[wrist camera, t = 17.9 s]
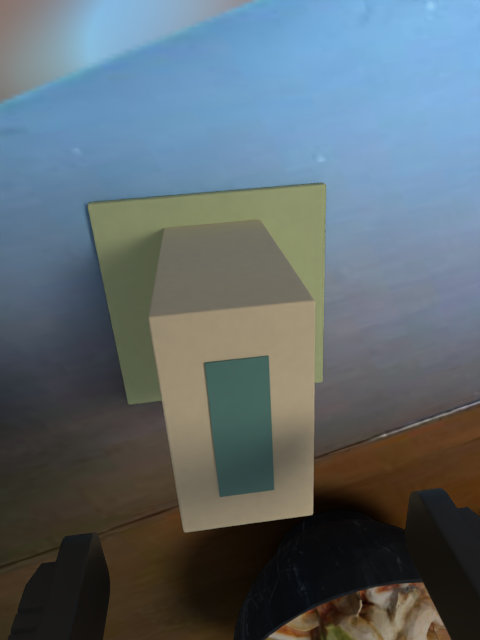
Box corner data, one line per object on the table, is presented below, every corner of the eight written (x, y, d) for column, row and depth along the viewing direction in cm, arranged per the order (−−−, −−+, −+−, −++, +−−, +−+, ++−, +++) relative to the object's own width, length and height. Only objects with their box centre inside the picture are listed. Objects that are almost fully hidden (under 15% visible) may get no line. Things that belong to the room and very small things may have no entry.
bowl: (281, 642, 40) (309, 795, 31) (179, 530, 33) (177, 688, 24) (459, 563, 38) (544, 702, 29) (392, 426, 31) (477, 555, 22)
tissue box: (184, 377, 27) (183, 536, 17) (163, 227, 23) (147, 318, 13) (267, 367, 27) (314, 517, 17) (260, 218, 23) (316, 301, 13)
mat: (89, 201, 23) (86, 204, 22) (323, 182, 24) (326, 184, 23) (129, 399, 28) (128, 405, 27) (320, 377, 29) (322, 382, 28)
